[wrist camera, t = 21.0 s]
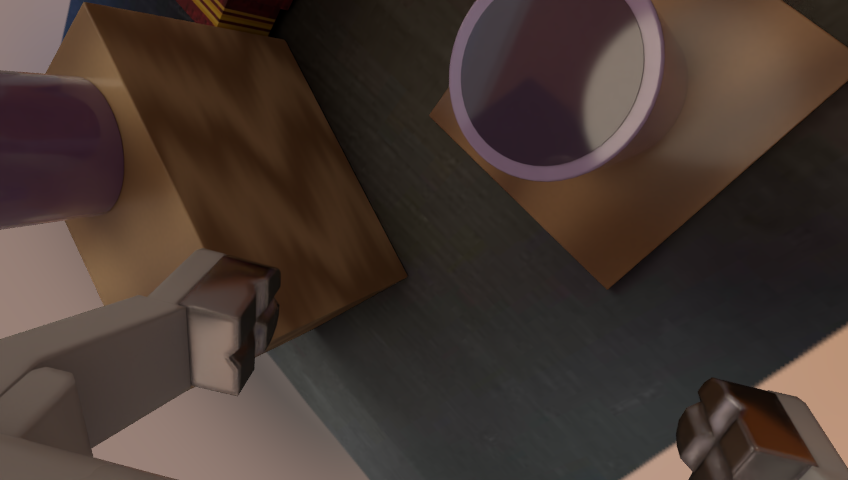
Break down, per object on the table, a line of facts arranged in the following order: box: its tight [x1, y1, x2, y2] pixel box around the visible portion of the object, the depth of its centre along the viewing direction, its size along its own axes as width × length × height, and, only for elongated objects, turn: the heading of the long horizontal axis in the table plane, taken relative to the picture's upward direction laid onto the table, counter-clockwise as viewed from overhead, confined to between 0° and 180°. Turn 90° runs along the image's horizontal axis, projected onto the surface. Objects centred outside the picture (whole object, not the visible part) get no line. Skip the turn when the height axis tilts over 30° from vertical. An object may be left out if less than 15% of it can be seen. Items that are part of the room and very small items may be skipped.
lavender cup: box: [449, 0, 689, 182], centre depth 19 cm, size 7×7×9 cm
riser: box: [45, 2, 407, 391], centre depth 29 cm, size 17×10×12 cm, turn 33°
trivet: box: [429, 0, 848, 290], centre depth 23 cm, size 13×13×1 cm
